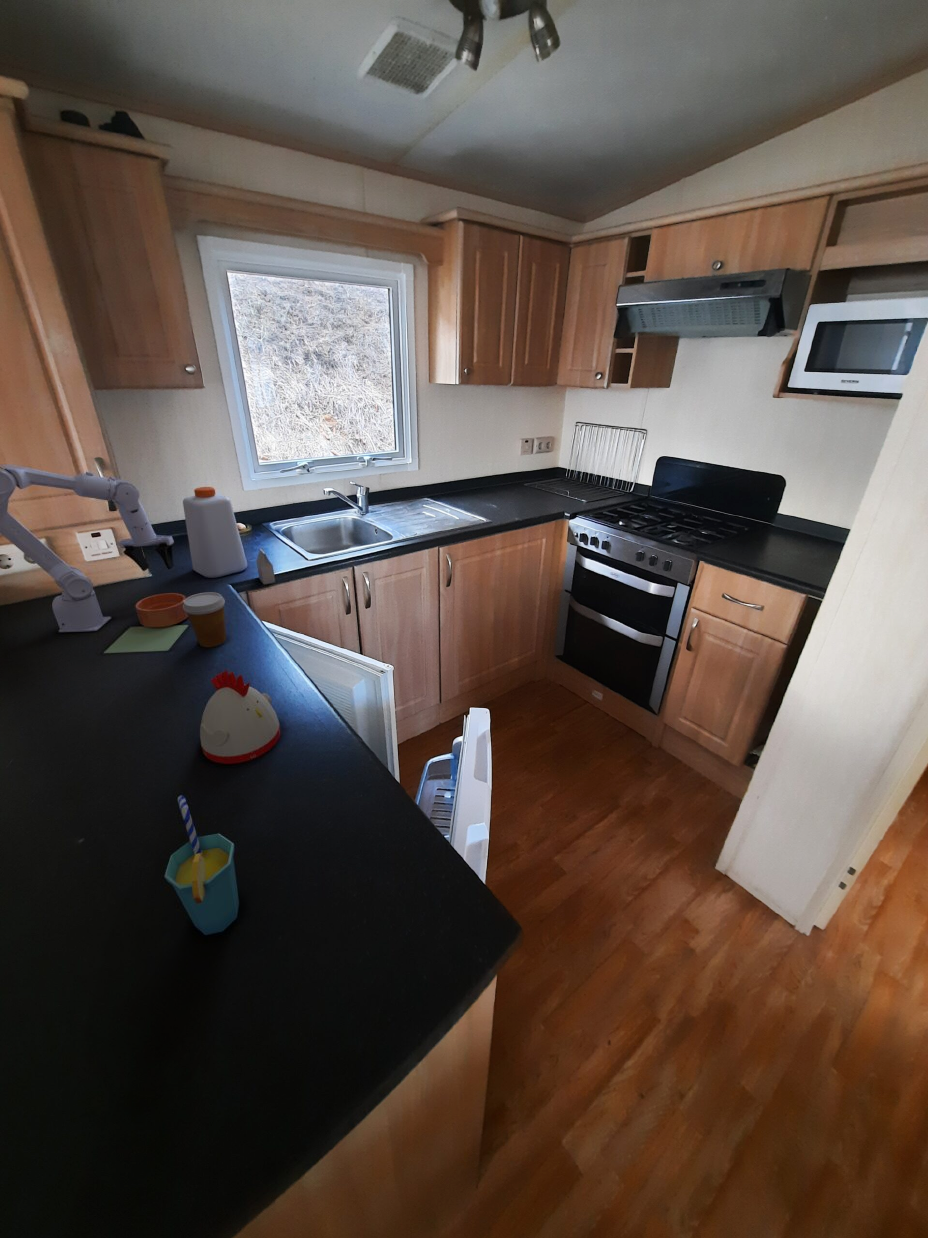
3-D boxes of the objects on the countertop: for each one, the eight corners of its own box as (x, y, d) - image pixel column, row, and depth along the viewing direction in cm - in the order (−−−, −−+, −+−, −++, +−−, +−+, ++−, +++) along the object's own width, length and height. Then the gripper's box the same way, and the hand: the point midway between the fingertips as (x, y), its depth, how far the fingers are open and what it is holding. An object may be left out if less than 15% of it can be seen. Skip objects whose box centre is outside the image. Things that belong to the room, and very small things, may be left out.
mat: (103, 653, 124) (103, 652, 124) (130, 627, 137) (130, 626, 137) (167, 650, 126) (167, 650, 126) (188, 625, 138) (188, 624, 138)
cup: (173, 886, 69) (144, 806, 63) (232, 857, 74) (211, 779, 67) (195, 974, 59) (163, 890, 53) (262, 935, 64) (241, 852, 57)
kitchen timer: (245, 771, 89) (229, 701, 82) (185, 752, 93) (165, 684, 86) (295, 725, 101) (284, 660, 94) (239, 709, 105) (225, 647, 98)
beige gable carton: (263, 584, 165) (258, 555, 160) (259, 577, 170) (254, 549, 166) (275, 582, 167) (270, 553, 162) (270, 575, 172) (265, 547, 167)
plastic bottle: (252, 569, 177) (238, 488, 164) (209, 581, 167) (190, 495, 154) (231, 559, 186) (216, 481, 173) (189, 569, 176) (170, 488, 163)
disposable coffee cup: (217, 652, 126) (207, 608, 120) (184, 648, 127) (172, 605, 122) (240, 635, 134) (231, 593, 129) (208, 631, 136) (198, 589, 130)
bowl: (132, 630, 135) (127, 611, 133) (152, 611, 146) (147, 593, 144) (180, 628, 136) (175, 609, 134) (196, 609, 147) (192, 592, 145)
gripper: (170, 516, 141) (189, 560, 149) (121, 520, 142) (142, 563, 150) (157, 526, 135) (177, 571, 143) (105, 530, 136) (128, 575, 144)
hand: (158, 568), depth 146 cm, fingers open, 7 cm apart
